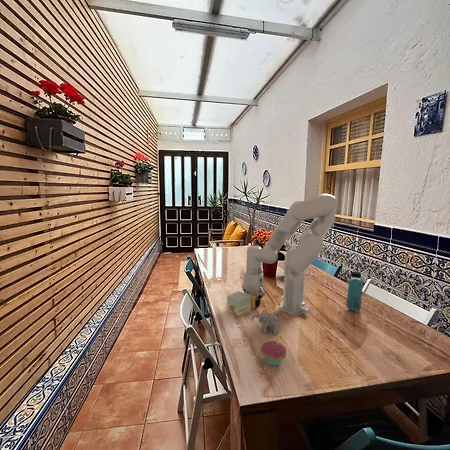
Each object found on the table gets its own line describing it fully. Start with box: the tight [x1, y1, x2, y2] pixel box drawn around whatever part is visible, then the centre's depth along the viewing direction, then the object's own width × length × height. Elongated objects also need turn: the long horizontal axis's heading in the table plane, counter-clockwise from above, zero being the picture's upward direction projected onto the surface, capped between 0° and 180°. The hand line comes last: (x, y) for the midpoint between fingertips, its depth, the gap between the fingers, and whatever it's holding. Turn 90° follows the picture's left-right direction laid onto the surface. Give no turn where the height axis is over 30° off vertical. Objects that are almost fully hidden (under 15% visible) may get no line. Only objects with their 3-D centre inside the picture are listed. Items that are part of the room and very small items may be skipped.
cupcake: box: [260, 330, 287, 366], centre depth 88 cm, size 9×8×12 cm
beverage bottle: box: [346, 271, 363, 312], centre depth 127 cm, size 6×7×20 cm
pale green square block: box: [226, 290, 251, 309], centre depth 126 cm, size 8×8×4 cm
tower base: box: [226, 302, 252, 317], centre depth 126 cm, size 8×8×4 cm
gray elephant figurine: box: [250, 308, 281, 336], centre depth 109 cm, size 9×12×8 cm
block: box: [245, 292, 262, 310], centre depth 132 cm, size 6×6×6 cm
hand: (252, 303), depth 133 cm, fingers closed on block, 6 cm apart
